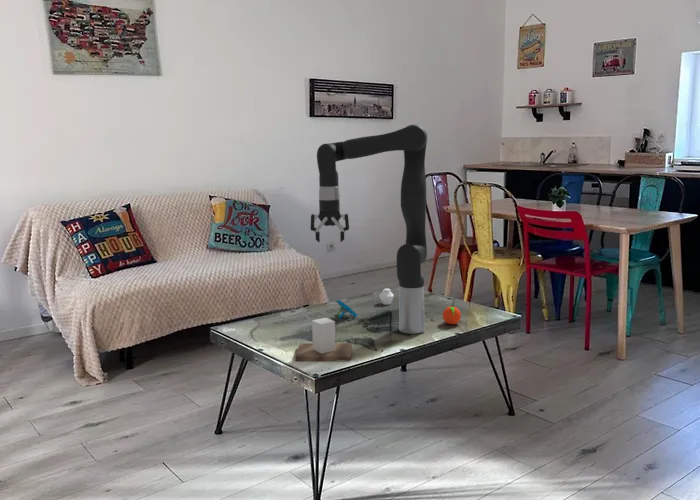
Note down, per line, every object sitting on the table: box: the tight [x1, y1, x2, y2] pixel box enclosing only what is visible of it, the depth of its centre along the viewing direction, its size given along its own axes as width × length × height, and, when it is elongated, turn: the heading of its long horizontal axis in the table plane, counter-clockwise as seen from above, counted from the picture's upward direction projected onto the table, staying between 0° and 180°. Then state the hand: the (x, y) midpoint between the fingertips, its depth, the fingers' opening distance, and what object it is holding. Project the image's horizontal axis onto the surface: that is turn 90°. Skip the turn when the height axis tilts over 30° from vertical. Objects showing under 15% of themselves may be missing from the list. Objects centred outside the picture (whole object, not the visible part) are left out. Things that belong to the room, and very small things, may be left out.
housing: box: [311, 317, 336, 354], centre depth 205 cm, size 6×6×10 cm
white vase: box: [379, 288, 395, 306], centre depth 266 cm, size 6×6×7 cm
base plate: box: [294, 342, 353, 362], centre depth 205 cm, size 18×13×6 cm
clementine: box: [442, 305, 462, 325], centre depth 235 cm, size 8×7×7 cm
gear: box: [336, 299, 358, 319], centre depth 247 cm, size 11×6×10 cm
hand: (330, 241), depth 229 cm, fingers open, 8 cm apart
